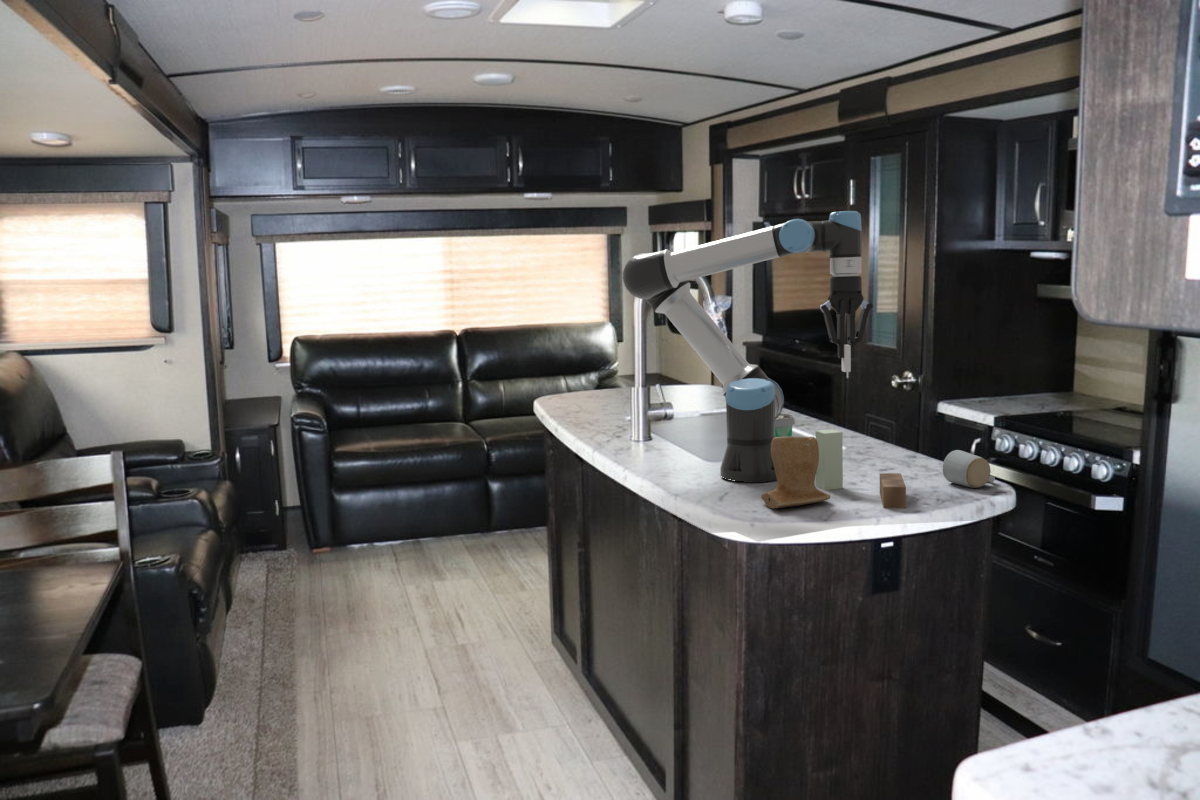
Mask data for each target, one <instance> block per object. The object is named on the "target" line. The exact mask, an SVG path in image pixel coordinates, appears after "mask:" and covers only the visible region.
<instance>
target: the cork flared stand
mask: <svg viewBox="0 0 1200 800" xmlns="http://www.w3.org/2000/svg"><path fill="white" fill-rule="evenodd" d="M771 457H772V461H773V464H774V468H775V473H776V478H777V480H776V486H775V488H774V489H772V490H770V491H766V492H764V493H762V494H761V495H760V499H761V500H762V501H763V503H764V504H765V505H766V506H767V507H768V508H770V509H784V508H790V507H791V508H793V507H798V506H804V505H810V504H815V503H816V504H817V503H820V502H823V501H828V500H830V499H831V498H832V497H831V495H830V494H828V493H826V492H824V491H822V490H820V489H818V487H817V486H816V471H817V467H818V462H819V447H818V442H817V440H816V436H793V435H792V437H774V438H773V440H772V443H771Z"/></svg>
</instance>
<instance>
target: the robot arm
mask: <svg viewBox="0 0 1200 800" xmlns="http://www.w3.org/2000/svg"><path fill="white" fill-rule="evenodd" d="M861 215H862V214H861V213H860V212H858V211H857V210H843V211H833V212H831V213H830V214H829V217H828V220H827V219H826V220H815V221H807V220H805V219H803V218H793V219H790V220H787V221H786V222H783V223H779V224H776V225H771V226H768V227H763V228H760V229H756V230H752V231H747V232H745V233H740V234H736V235H732V236H728V237H725V238H721V239H719V240H718V239H717V240H714V241H709V242H706V243H702V244H698V245H695V246H690V247H688V248H683V249H679V250H676V251H671V250H669V249H663V250H658V251H655V252H641V253H638V254H636V255H635V254H634V256H632V257H631V258H630V259H629V260H628V261H627V262H626V264H625V265H624V267H623V271H622V281H623V285H624V287H625V289H626V290H627V291H628V293H629V294H630V295H632V296H633V297H635V298H638V299H641V300H645V301H646V303H647V304H648V305H649V306H650V307H651V308H652V310H653V311H654V312H655V313H656V314H662V315H663V314H664V316H666V317H667V319H668V320H669V321H670V323H672V325H673V326H674V327H675V328H676V329H677V331H678V332H679V334H681V336H682V337H683V338H684V339H685V341H686V342H687V343H688V344H689V345H690V347H691V348H692V349H693V350H694V352H696V353H695V354H697V355H698V356H699V358H700V359H701V360H702V361H703V363H704V364H705V365H706V366H707V367H708V368H709V370H710V371H711V372H712V374H713V375H714V376H715V377H716V379H718V381H719V382H720V383H721V384H722V395H723V396H724V398H725V405H726V412H725V413H726V448H725V452H724V455H723V459H722V462H721V465H720V477H721V476H722V477H724V478H726V479H731V480H735V481H744V482H743V483H765V482H766V483H767V481H768V482H773V481H777V478H776V473H775V468H774V464H773V461H772V457H771V443H772V440H773V438H774V437H775V419H776V418H778V416H779V415H780V413H782V411H783V408H784V405H785V403H784V402H785V398H784V397H785V396H784V393H783V390H782V388H781V387H780V385H779V384H778V383H777V382H776V381H775V380H773V379H771V378H769V377H768V376H767V374H766V373H765V372H764V371H763V370H762V368H761V367H760V366H759V365H758V364H753V363H752V364H751V363H749V362H748V361H747V360H746V359H745V357H744V356H743V354H742V353H741V352H740V351H739V350H738V349H737V347H736V346H735V345H734V344H733V343H732V341H731V340H730V339H729V338H728V337H727V335H726V334H725V333H724V332H723V330H722V329H721V328H720V326H718V325H717V323H716V322H715V321H714V319H712V317H711V316H710V315H709V313H708V312H707V311H706V310H705V309H704V308H703V306H702V305H701V304H700V303H699V302H698V301H697V298H695V297H694V296H693V295H692V293H691V283H690V281H691V280H694V279H699V278H704V277H706V276H707V277H708V276H710V275H714V274H718V273H722V272H726V271H730V270H733V269H734V270H735V269H738V268H743V267H746V266H750V265H753V264H758V263H761V262H764V261H771V260H773V259H777V258H780V257H781V258H782V257H786V256H790V255H795V254H801V253H807V254H808V253H818V252H819V253H820V252H825V253H826V252H829V274H830V275H832V276H831V277H830V278H829V296H828V299H827V301H826V302H824V303H823V304H820V305H819V306H818V307H819V309H820V312H821V313H822V314H823V317H824V318H823V319H824V322H825V326H826V329H827V334H828V338H829V342H830V343H833V344H836V345H837V357H838V359H841V372H844V373H850V372H851V369H852V368H851V367H852V365H851V361H852V359H853V358H855V346H856V344H859V343H861V342H862V341H863V337H864V333H865V330H866V326H867V321H868V317H869V314H870V312H871V310H872V308H873V306H874V305H873V303H871V302H868V301H867V300H865V298H864V296H863V293H862V291H863V290H862V289H863V288H862V286H863V284H862V282H863V281H862V280H863V279H862V276H861V275H860V274H861V273H863V272H862V271H863V270H862V248H863V246H862V242H863V241H862V236H863V235H862V234H863V231H862V230H863V228H862V216H861ZM831 307H832V309H833V310H834V311H835V312H836V314H835V315H836V329H835V324H834V321H833V317H832V313H831ZM859 307H860V308H861V310H860V313H859V319H858V321H857V322H858V323H857V325H856V313H857V310H858V309H859ZM845 318H846V320H847V321H846V324H847V325H845ZM846 326H847V327H846ZM856 326H857V327H856ZM845 327H846V329H847V332H846V329H845ZM845 332H846V333H847V334H845ZM845 335H847V336H846V337H847V339H846V337H845ZM846 341H847V344H845V342H846ZM735 481H734V482H735Z"/></svg>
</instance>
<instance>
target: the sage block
mask: <svg viewBox="0 0 1200 800" xmlns="http://www.w3.org/2000/svg"><path fill="white" fill-rule="evenodd" d="M843 434H844V433H843V431H839V430H836V429H832V428H831V429H822V430H815V438H816V440H817V442H818V447H819V462H818V467H817V471H816V475H815V487H816V488H819V489H821V490H823V489H824V491H827V490H828V491H829V490H841V489H843V487H844V485H843V483H844V478H843V477H844V475H843V474H844V471H843V470H844V469H843V468H844V466H843V461H844V460H843V459H844V458H843V457H844V456H843V447H844V446H843V443H844V442H843V441H844V440H843V438H844V437H843Z"/></svg>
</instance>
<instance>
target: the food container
mask: <svg viewBox="0 0 1200 800" xmlns="http://www.w3.org/2000/svg"><path fill="white" fill-rule="evenodd" d="M795 421H796V420H795V418H794V415H793V414H789V413H782V412H781V413H780V415H779V416H778V418H776V419H775V437H792V436H793V425H795V424H796V422H795Z"/></svg>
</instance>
